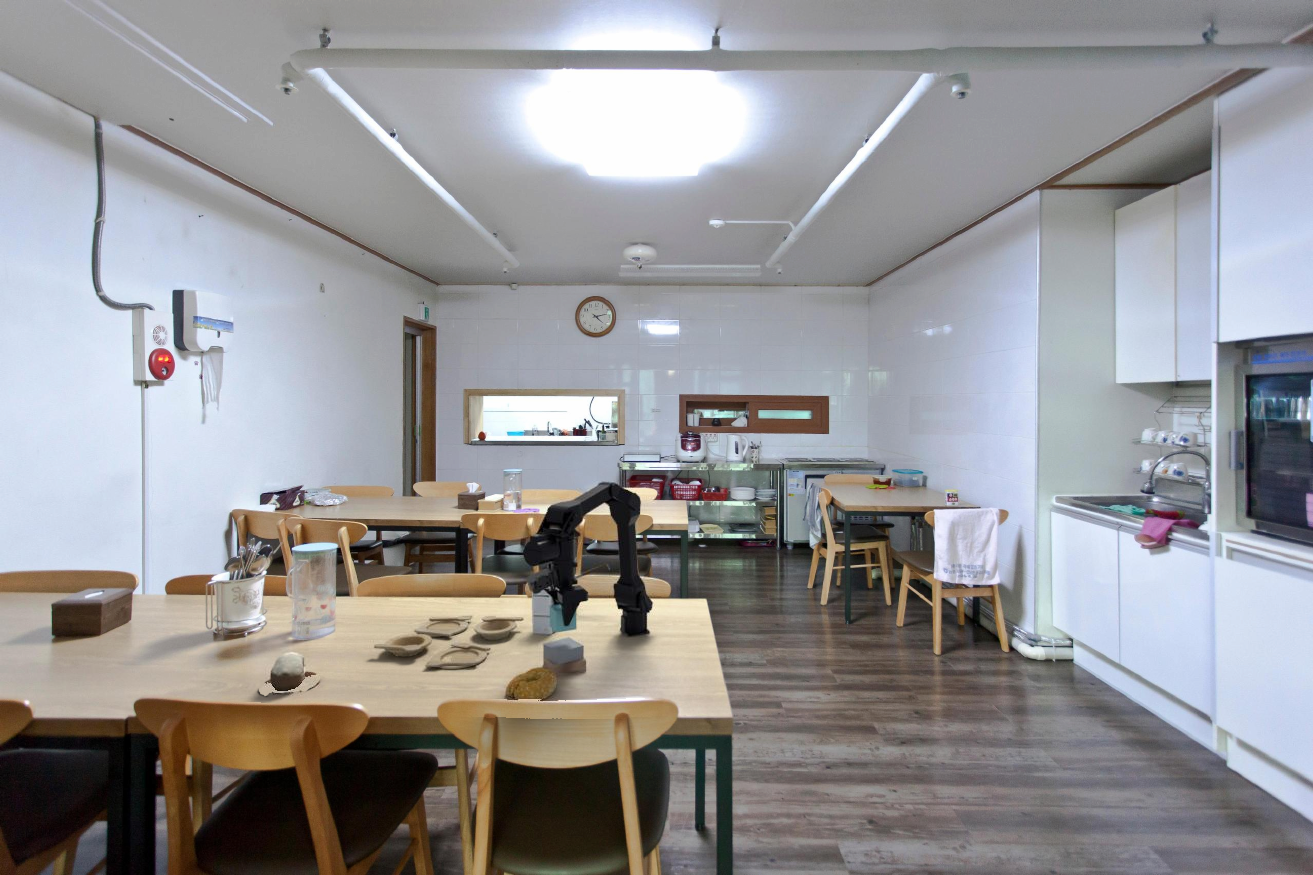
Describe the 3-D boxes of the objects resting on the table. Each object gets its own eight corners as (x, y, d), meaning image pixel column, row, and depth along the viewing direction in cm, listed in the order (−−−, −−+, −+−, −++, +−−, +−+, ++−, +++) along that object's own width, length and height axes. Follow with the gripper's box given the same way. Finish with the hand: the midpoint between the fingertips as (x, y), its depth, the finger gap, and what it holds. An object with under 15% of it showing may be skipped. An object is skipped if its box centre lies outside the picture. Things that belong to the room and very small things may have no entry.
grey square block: (568, 649, 156) (568, 637, 156) (583, 657, 150) (583, 645, 150) (543, 655, 151) (543, 643, 151) (557, 665, 146) (557, 652, 146)
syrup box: (551, 634, 173) (551, 582, 173) (531, 633, 174) (531, 581, 174) (559, 628, 179) (558, 577, 178) (539, 626, 180) (539, 576, 179)
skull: (262, 674, 145) (296, 638, 146) (300, 700, 147) (332, 664, 149) (244, 694, 133) (280, 655, 135) (285, 722, 135) (320, 683, 137)
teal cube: (569, 622, 154) (569, 602, 154) (576, 629, 149) (576, 608, 149) (549, 626, 151) (549, 605, 151) (556, 632, 147) (556, 611, 147)
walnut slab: (574, 660, 156) (574, 648, 156) (586, 672, 149) (586, 660, 149) (543, 666, 153) (543, 654, 152) (553, 678, 145) (553, 666, 145)
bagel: (513, 683, 142) (513, 662, 142) (561, 685, 142) (561, 664, 141) (499, 703, 133) (499, 681, 132) (550, 706, 132) (550, 684, 131)
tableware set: (437, 619, 187) (437, 606, 187) (530, 626, 181) (530, 612, 181) (359, 665, 153) (358, 649, 153) (469, 676, 147) (469, 659, 147)
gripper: (518, 553, 154) (519, 616, 155) (541, 570, 138) (541, 640, 138) (562, 548, 159) (562, 609, 160) (588, 564, 143) (589, 632, 143)
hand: (563, 622), depth 150 cm, fingers closed on teal cube, 5 cm apart
